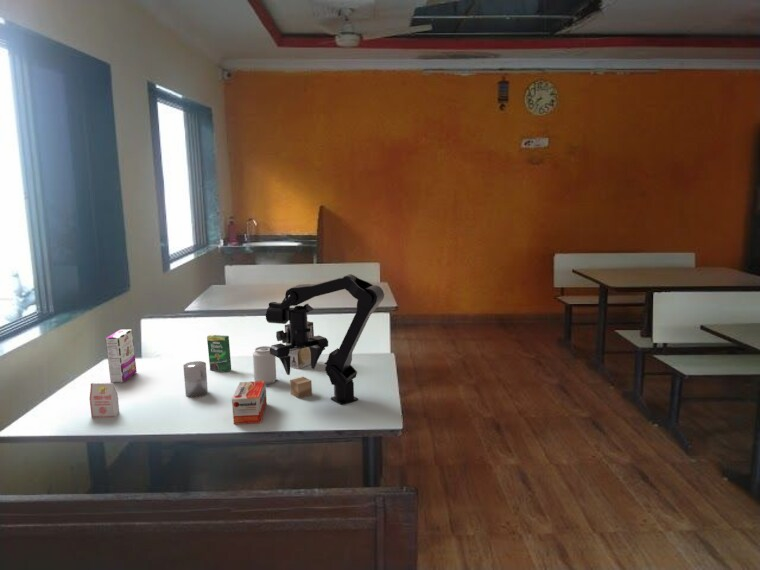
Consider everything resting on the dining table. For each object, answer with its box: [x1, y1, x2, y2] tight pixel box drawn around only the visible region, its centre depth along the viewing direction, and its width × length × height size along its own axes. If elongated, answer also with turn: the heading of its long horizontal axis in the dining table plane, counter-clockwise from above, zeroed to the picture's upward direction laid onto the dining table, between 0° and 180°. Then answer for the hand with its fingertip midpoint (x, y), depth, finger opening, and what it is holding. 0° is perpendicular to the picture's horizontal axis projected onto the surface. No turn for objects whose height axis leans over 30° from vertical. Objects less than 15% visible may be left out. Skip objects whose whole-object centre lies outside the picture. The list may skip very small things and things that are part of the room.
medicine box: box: [231, 380, 268, 425], centre depth 179 cm, size 15×8×8 cm, turn 4°
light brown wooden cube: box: [289, 376, 313, 399], centre depth 195 cm, size 5×5×5 cm
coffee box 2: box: [284, 320, 315, 370], centre depth 224 cm, size 9×6×16 cm
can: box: [252, 345, 277, 385], centre depth 207 cm, size 8×8×12 cm
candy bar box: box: [105, 328, 137, 384], centre depth 213 cm, size 11×5×16 cm, turn 179°
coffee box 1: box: [206, 334, 232, 373], centre depth 220 cm, size 8×3×13 cm, turn 70°
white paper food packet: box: [89, 382, 120, 418], centre depth 180 cm, size 4×7×10 cm, turn 90°
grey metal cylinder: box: [182, 360, 209, 399], centre depth 196 cm, size 7×7×10 cm
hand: (300, 371), depth 194 cm, fingers open, 9 cm apart
